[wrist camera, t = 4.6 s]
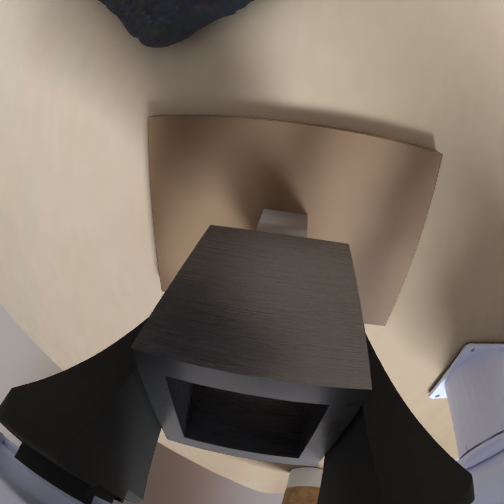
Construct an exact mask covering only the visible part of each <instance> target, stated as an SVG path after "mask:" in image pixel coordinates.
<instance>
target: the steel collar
mask: <svg viewBox="0 0 504 504" xmlns="http://www.w3.org/2000/svg"><path fill="white" fill-rule="evenodd" d="M130 348H131V351H132V354H133V357H134V360H135V363H136V366H137V368H138V371H139V374H140V377H141V379H142V382H143V384H144V387H145V389H146V392H147V394H148V397H149V399H150V402H151V404H152V407H153V409H154V411H155V414H156V416H157V418H158V420H159V423H160V425H161V427H162V429H163V431H164V434H165V436H166V438H167V439H168V440H172V441H175V442H178V443H182V444H185V445H189V446H193V447H197V448H201V449H205V450H209V451H213V452H217V453H222V454H227V455H232V456H237V457H242V458H248V459H254V460H260V461H267V462H275V463H283V464H292V465H303V466H316V465H317V464H318V463H319V462H320V460H321V459H322V458H323V457H324V456H325V454H326V453H327V452H328V451H329V449H330V448H331V447H332V446H333V444H334V443H335V442H336V440H337V439H338V438H339V436H340V435H341V434H342V432H343V431H344V430H345V428H346V427H347V426H348V424H349V423H350V422H351V420H352V419H353V417H354V416H355V414H356V413H357V412H358V410H359V409H360V407H361V406H362V404H363V403H364V401H365V400H366V398H367V397H368V395H369V394H370V392H371V391H372V384H371V374H370V365H369V357H368V349H367V342H366V335H365V328H364V321H363V315H362V309H361V303H360V297H359V292H358V286H357V281H356V276H355V270H354V265H353V261H352V256H351V251H350V246H349V244H347V243H340V242H333V241H326V240H320V239H313V238H306V237H299V236H292V235H284V234H277V233H270V232H263V231H255V230H248V229H240V228H232V227H225V226H217V225H210V226H209V227H208V229H207V230H206V232H205V233H204V235H203V236H202V237H201V239H200V240H199V242H198V243H197V245H196V246H195V248H194V249H193V251H192V252H191V254H190V255H189V257H188V258H187V260H186V261H185V263H184V264H183V266H182V267H181V269H180V270H179V272H178V273H177V275H176V276H175V278H174V279H173V281H172V282H171V284H170V285H169V287H168V288H167V290H166V291H165V293H164V295H163V296H162V298H161V299H160V301H159V302H158V304H157V305H156V307H155V309H154V310H153V312H152V313H151V315H150V317H149V318H148V320H147V321H146V323H145V325H144V326H143V328H142V329H141V331H140V333H139V334H138V336H137V337H136V339H135V341H134V342H133V344H132V346H131V347H130Z"/></svg>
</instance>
